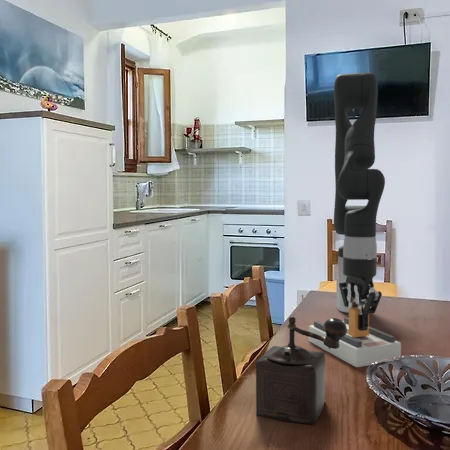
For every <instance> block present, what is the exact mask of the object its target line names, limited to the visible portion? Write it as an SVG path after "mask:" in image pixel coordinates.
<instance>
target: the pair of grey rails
mask: <svg viewBox="0 0 450 450" xmlns="http://www.w3.org/2000/svg"><path fill="white" fill-rule="evenodd" d="M343 321H344V323H346V324H349V317H344V318H343ZM313 325H314V327H316V328H318V329H321V330H323V331H325V330H324V323H323V322H321V321H318V320H317V321H314V322H313ZM369 334H372V335H374V336H376V337H379V338H381V339H383V340H386V341H388V342H390V343H391V342H395V340H396V336H394V335H391V334H389V333H386V332H384V331H382V330H379V329H377V328H374V327H372V326H370V325H369ZM341 340H343V341H345V342H347V343H349V344H351V345H353V346H355V347H357V348H358V347H362V341H360V340H357V339H355V338H353V337H351V336H349V335H347V334H346V335H345V336H343V337H342V338H341Z"/></svg>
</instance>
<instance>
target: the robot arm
mask: <svg viewBox="0 0 450 450" xmlns="http://www.w3.org/2000/svg"><path fill="white" fill-rule="evenodd" d="M378 89H379V88H378V79H377V76H376V74H375V73H374V72H352V73H351V72H349V73H340V74H338V75H336V77H335V79H334V85H333V103H334V118H335V119H334V120H335V121H334V122H335V147H334V177H335V179H334V180H335V181H334V182H335V192H334V194H335V195H334V209H333V211H334V212H333V213H334V214H333V227H334V231H335V233H336V234H337V235H341V236H344V237H343V238H344V239H343V245H341V246H339V247H338V249H337V250H338V251H337V255H338V256H337V259H338V260H337V278H336V291H335V293H336V299H335V301H336V303H335V304H336V309H337V310H338V311H340V312H341V313H346V314H349V308H353V307H358V313H359V315H358V330H360V331H364V330H367V329H368V315H369V316H370V314H375V313H376V312H377V311H376V310H377V308H378V305H379V303H380V300H381V298H382V295H383V293H382V292H381V291H379V290H378V291H377V290H376V289H375V285H374V282H373V278H375V277H376V276H377V257H378V256H377V255H378V253H377V251H378V247H377V246H378V245H377V215H378V210H379V209H378V208H379V204H380V203H381V199H382V196H383V193H384V190H385V185H386V181H385V180H386V178H385V175H384V174H383V172H382V171H381V170H380V169H378V168H371V167H373V165H374V164H375V162H376V150H375V149H376V148H375V146H376V145H375V126H376V122H377V121H376V120H377V111H378V109H377V107H378V96H379V92H378ZM359 109H363V110H362V112H361V114H360V115H359V116H358V117H357V118H356V119H355V121H354V122H353V123H351V120H350V118H349V115H348V112H347V110H359ZM349 200H351V201H353V200H357V201H359V200H360V201H361V200H363V201H365V200H367V203H366V204H365V205H347V202H348V201H349ZM363 307H364V309H363Z"/></svg>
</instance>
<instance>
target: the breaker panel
mask: <svg viewBox="0 0 450 450" xmlns="http://www.w3.org/2000/svg"><path fill="white" fill-rule="evenodd" d="M342 321H343V322H344V320H342ZM345 324H346V323H345ZM346 327H347V333H346V334H347V335H349V324H346ZM308 331H309V332H312V333H315V334H318V335H321V336H323V337H326V332H325V331H323V330H321V329H318V328H316V327H314V324H311V325H308ZM349 336H350V335H349ZM351 337H353V336H351ZM353 338H355V339H357V340H360V341H362V347H358V348H357V347H355V346H353V345H351V344H349V343H347V342H345V341H343V340H341V339H340V340H339V345H340V347H339V348H337V349H333V348H330V349H329V347H327V346H326V345H324V343H323V342H322V341H320V340H318V339H315V338H312V337H308V342H310V343H312V344H313V345H315V346H317V347H318V348H321V349H322V350H323V351H326V352H328V353H329V354H332V355H333V356H334V357H337V358H338V359H340V360H342V361H344V362H346V363H347V364H350V365H351V366H353V367H355V368H361V367H366V366H371V365H370V364H371V363H373V362H375V361H378V360H382V359H387V358H392V357H399V356H401V357H402V342H400V341H399V340H398V341H397V340H396V339H395V342H391V343H390V342H388V341H386V340H383V339H381V338H379V337H376V336H374V335H372V334H369V336H362V337H353Z"/></svg>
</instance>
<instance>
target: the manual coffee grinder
mask: <svg viewBox="0 0 450 450" xmlns="http://www.w3.org/2000/svg"><path fill="white" fill-rule="evenodd" d="M296 321H297V319H296V317H294V316H292V315H290V316H289V318H288V323H289V324H288V325H287V329H288V331H289V339H288V341H289V342H288V344H287V345H283V346H280V345H279V346H278V345H273V346H272V347H270V348H269V349H267V351H266V352H265V353H263V355H262V356H261V357H260V358H259V359H258V360H257V361H256V362H255V394H256V395H255V397H256V398H255V399H256V400H255V401H256V402H255V403H256V405H255V406H256V411H255V415H256V416H260V417H265V418H269V419H275V420H278V421H283V422H293V423H301V424H310V425H311V424H314V423H315V422H316V421H317V420H318V419H319V416H321V414H322V412H323V410H324V405H325V401H326V396H325V395H326V393H325V392H326V391H325V390H326V388H325V386H326V385H325V382H326V381H325V380H326V379H325V377H326V376H325V375H326V374H325V373H326V353H325V352H322V351H315V350H310V349H309V350H308V349H306V348H304V347H302V346H300V345H296V344H295V336H296V335H295V332H296V333H297V334H299V335H303V336H306V337H308V338H309V337H312V338H315V339H318V340H320V341H322V342H323V343H324V345H326V346H327V347H329V349H330V348H333V349H337V348H339V347H340V345H339V340H340V339H341V338H342V337H343V336H345V335H346V333H347V327H346V324H345V323H344V322H343V321H344V320H341V319H339V318H336V317H331V318H327V319H326V321H325V322H324V323H323V324H324V330H325V332H326V337H323V336H321V335H318V334H315V333H312V332H309V330H305V329H302V328H299V327H297V325H296Z"/></svg>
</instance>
